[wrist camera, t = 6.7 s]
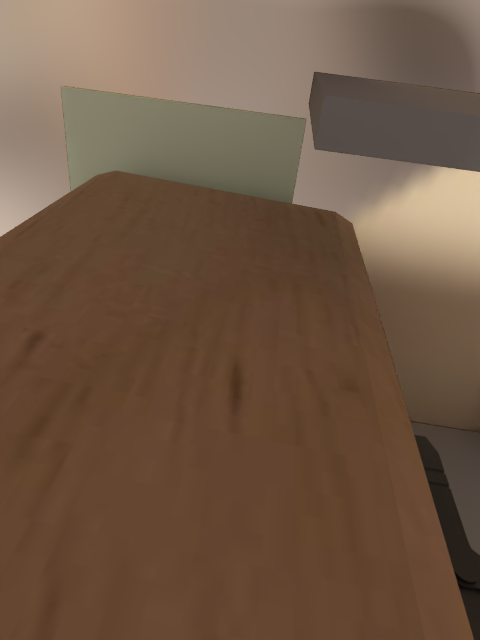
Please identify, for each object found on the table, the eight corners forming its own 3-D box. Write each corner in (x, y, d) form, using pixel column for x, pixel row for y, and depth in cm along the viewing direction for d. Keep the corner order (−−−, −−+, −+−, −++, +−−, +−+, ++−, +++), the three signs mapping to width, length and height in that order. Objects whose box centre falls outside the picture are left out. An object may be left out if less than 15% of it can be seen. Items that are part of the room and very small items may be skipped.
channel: (482, 447, 24) (555, 611, 17) (255, 411, 24) (238, 555, 17) (672, 118, 15) (977, 181, 8) (314, 71, 15) (324, 95, 9)
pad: (259, 390, 23) (258, 393, 23) (89, 362, 24) (87, 366, 23) (306, 118, 16) (306, 120, 16) (64, 86, 17) (60, 86, 16)
